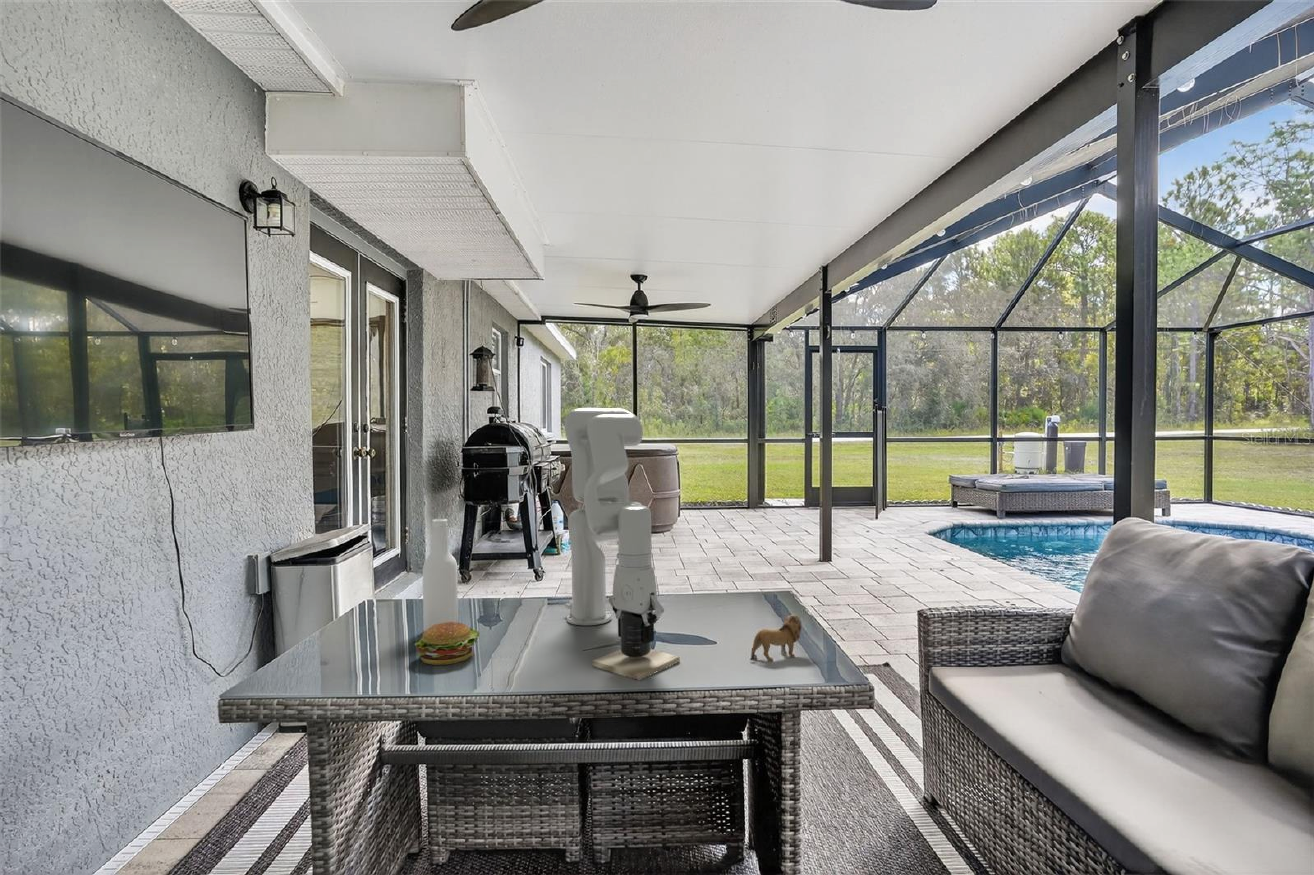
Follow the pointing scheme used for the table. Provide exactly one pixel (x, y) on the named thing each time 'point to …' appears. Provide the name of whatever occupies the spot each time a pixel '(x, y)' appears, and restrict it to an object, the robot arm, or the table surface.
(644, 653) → the supplement bottle
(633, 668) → the birch board
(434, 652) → the food
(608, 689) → the table surface
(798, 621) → the lion figurine
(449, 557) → the alcohol
